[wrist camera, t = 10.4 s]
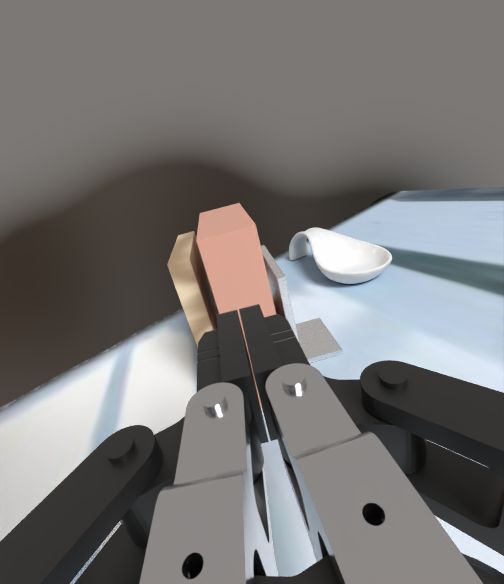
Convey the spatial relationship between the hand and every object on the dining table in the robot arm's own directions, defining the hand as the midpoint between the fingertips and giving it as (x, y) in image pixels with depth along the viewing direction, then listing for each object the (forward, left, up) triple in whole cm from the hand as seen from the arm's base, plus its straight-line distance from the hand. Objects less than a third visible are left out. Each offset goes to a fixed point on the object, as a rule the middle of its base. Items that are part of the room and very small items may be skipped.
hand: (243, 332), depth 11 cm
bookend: (+7, +24, -18) cm, 30 cm away
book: (0, +22, -18) cm, 29 cm away
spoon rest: (+18, +45, -18) cm, 51 cm away
